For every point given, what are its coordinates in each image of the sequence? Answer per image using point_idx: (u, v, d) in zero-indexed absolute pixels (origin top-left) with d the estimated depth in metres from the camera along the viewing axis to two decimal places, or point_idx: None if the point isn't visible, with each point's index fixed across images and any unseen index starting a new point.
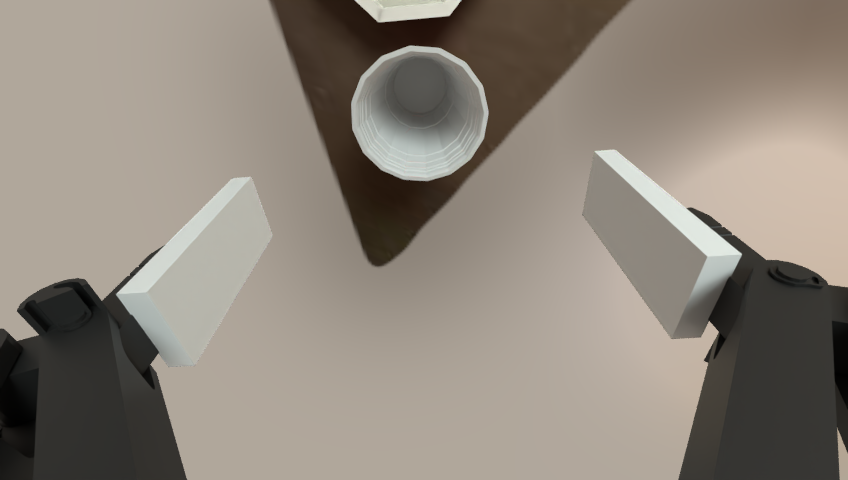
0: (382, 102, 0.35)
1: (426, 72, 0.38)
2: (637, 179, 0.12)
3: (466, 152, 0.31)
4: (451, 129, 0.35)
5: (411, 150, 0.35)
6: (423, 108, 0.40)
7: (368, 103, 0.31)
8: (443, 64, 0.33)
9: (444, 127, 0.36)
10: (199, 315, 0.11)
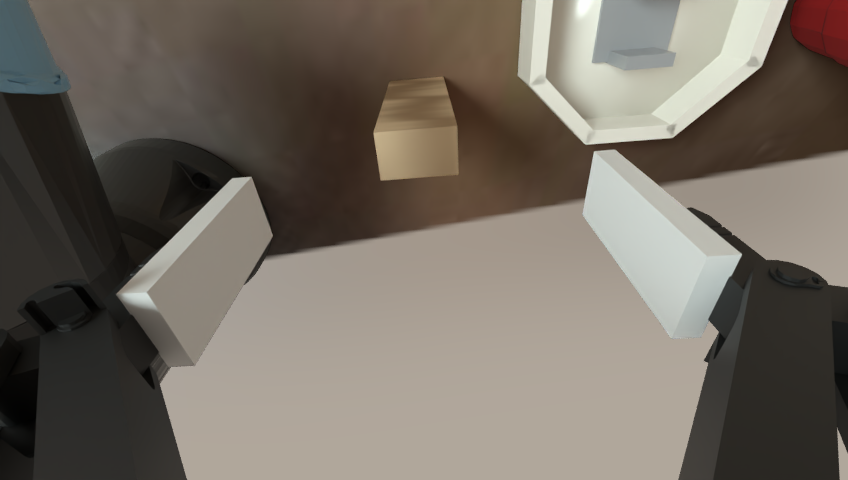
0: None
1: None
2: (637, 179, 0.12)
3: None
4: None
5: None
6: None
7: None
8: None
9: None
10: (199, 315, 0.11)
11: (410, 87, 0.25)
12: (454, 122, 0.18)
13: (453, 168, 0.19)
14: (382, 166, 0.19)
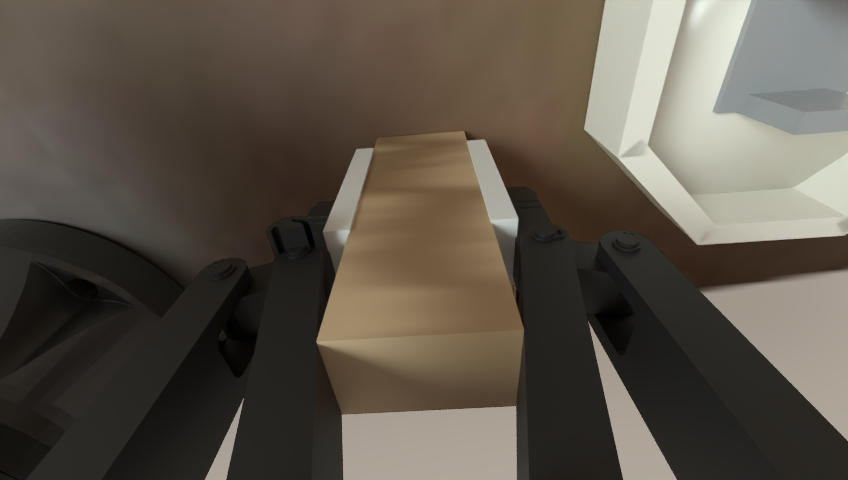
0: None
1: None
2: (484, 163, 0.13)
3: None
4: None
5: None
6: None
7: None
8: None
9: None
10: None
11: (410, 157, 0.15)
12: (513, 308, 0.08)
13: (506, 397, 0.08)
14: (343, 395, 0.08)
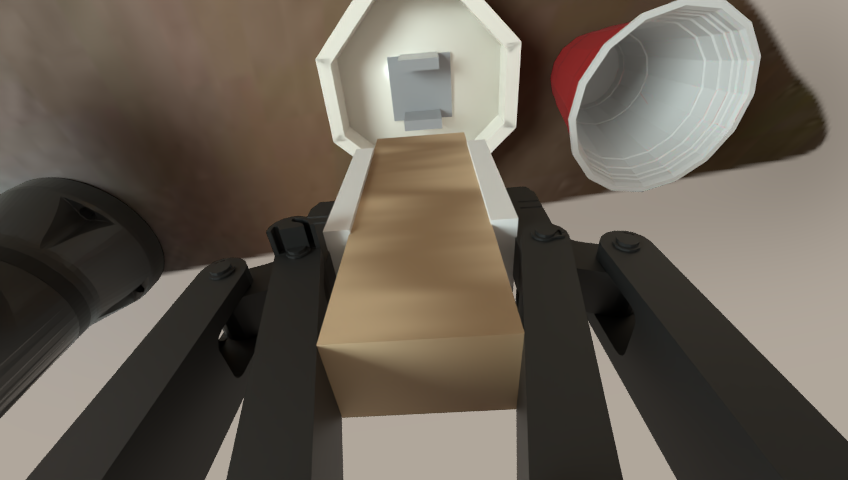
0: (601, 131, 0.29)
1: None
2: (484, 163, 0.13)
3: (734, 28, 0.20)
4: (670, 40, 0.24)
5: (684, 105, 0.25)
6: (613, 66, 0.31)
7: (610, 162, 0.26)
8: None
9: (660, 47, 0.25)
10: None
11: (410, 159, 0.15)
12: (513, 312, 0.07)
13: (506, 400, 0.08)
14: (343, 398, 0.08)
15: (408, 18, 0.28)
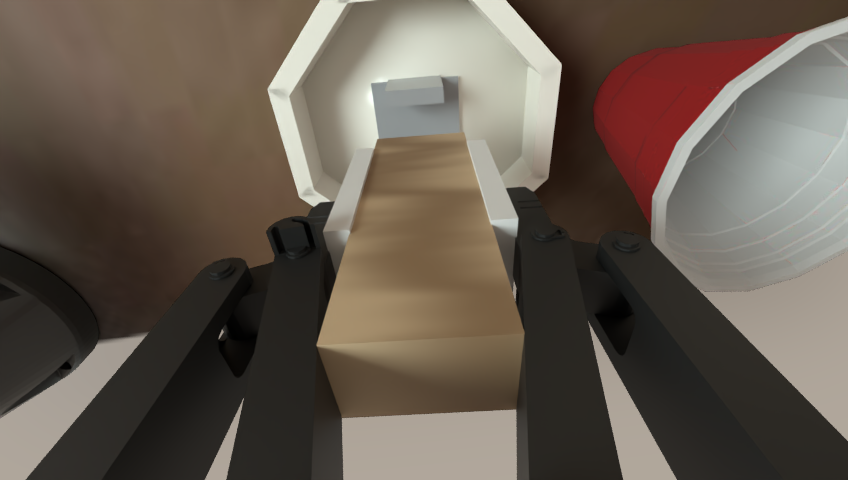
0: None
1: None
2: (483, 163, 0.13)
3: None
4: (793, 67, 0.16)
5: (805, 161, 0.17)
6: None
7: (694, 241, 0.18)
8: None
9: (767, 75, 0.17)
10: None
11: (410, 159, 0.15)
12: (513, 312, 0.07)
13: (506, 400, 0.08)
14: (343, 399, 0.08)
15: (400, 29, 0.20)
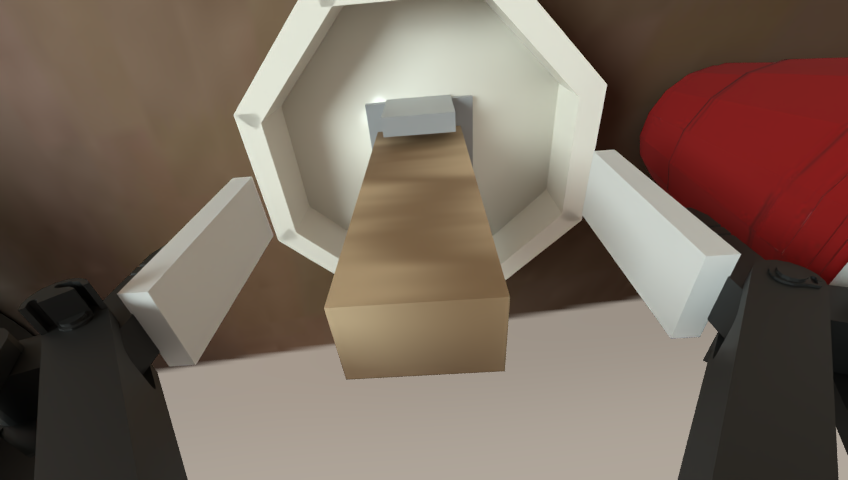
0: None
1: None
2: (636, 179, 0.12)
3: None
4: None
5: None
6: None
7: None
8: None
9: None
10: (200, 315, 0.11)
11: (409, 150, 0.16)
12: (500, 279, 0.08)
13: (495, 362, 0.09)
14: (348, 360, 0.09)
15: (402, 39, 0.16)
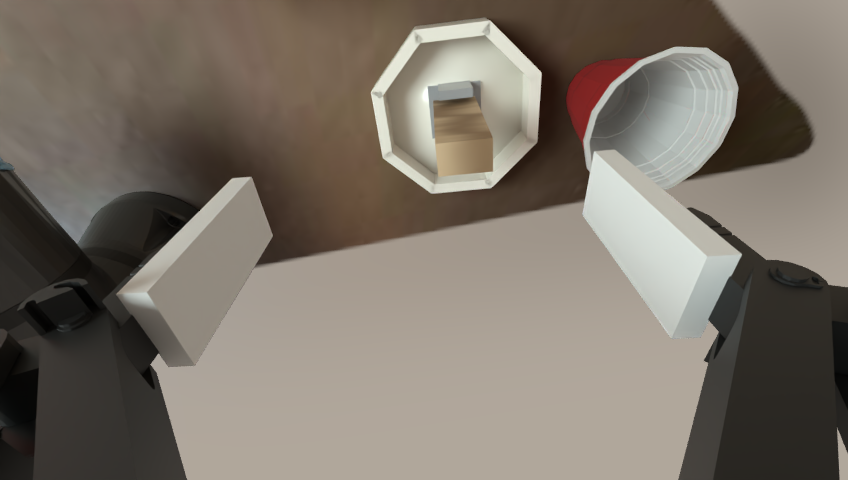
0: (610, 144, 0.34)
1: None
2: (637, 179, 0.12)
3: (716, 67, 0.25)
4: (667, 71, 0.29)
5: (679, 123, 0.30)
6: (620, 88, 0.36)
7: None
8: None
9: (658, 75, 0.31)
10: (199, 315, 0.11)
11: (451, 106, 0.33)
12: (490, 135, 0.26)
13: (489, 167, 0.27)
14: (440, 166, 0.27)
15: (446, 54, 0.34)
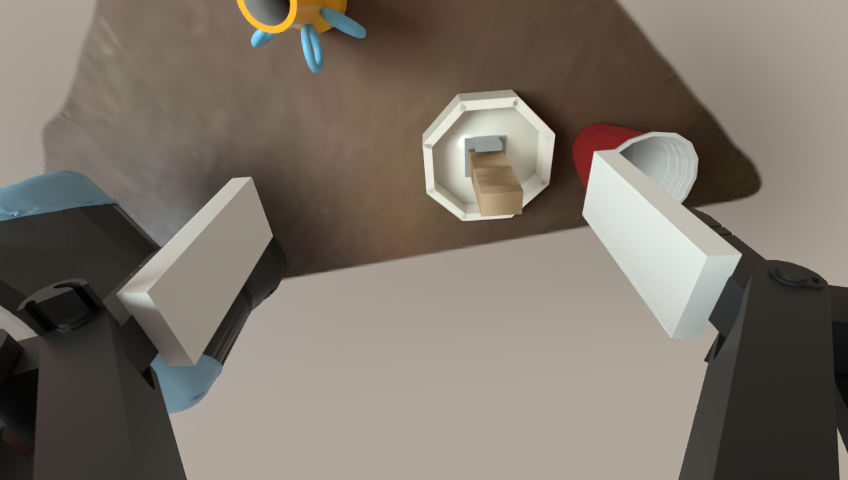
0: None
1: None
2: (637, 179, 0.12)
3: (682, 145, 0.35)
4: (649, 139, 0.39)
5: (657, 177, 0.40)
6: None
7: None
8: (590, 141, 0.41)
9: (643, 140, 0.41)
10: (199, 315, 0.11)
11: (484, 156, 0.43)
12: (521, 188, 0.36)
13: (519, 210, 0.36)
14: (483, 209, 0.36)
15: (481, 115, 0.43)
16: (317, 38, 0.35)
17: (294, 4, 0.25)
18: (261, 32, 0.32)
